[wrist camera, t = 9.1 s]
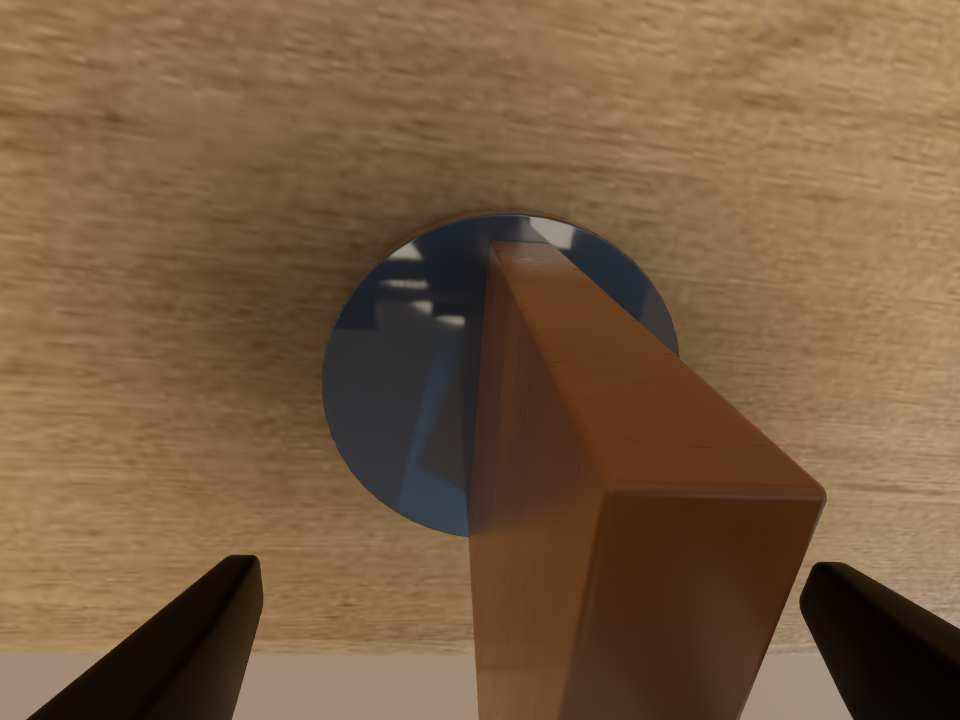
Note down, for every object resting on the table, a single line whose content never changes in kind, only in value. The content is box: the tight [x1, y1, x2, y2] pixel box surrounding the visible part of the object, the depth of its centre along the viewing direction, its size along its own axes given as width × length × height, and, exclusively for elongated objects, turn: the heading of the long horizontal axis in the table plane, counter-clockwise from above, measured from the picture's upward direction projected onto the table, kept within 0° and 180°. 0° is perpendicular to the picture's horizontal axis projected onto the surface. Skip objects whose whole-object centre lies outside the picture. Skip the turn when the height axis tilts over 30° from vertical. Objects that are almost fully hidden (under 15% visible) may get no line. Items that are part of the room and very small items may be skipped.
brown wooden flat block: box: [468, 240, 827, 720], centre depth 10 cm, size 2×9×10 cm, turn 176°
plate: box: [322, 208, 680, 537], centre depth 15 cm, size 10×10×1 cm
